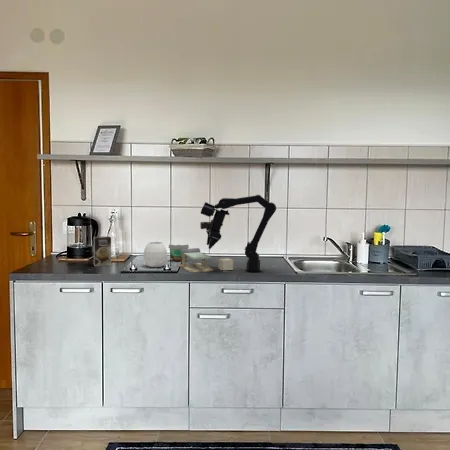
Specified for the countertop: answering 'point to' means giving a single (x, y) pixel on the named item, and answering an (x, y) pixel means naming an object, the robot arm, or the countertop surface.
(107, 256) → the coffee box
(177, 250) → the food container
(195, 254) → the trapdoor
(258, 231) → the robot arm
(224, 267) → the beige cube
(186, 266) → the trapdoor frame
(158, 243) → the white round vase
